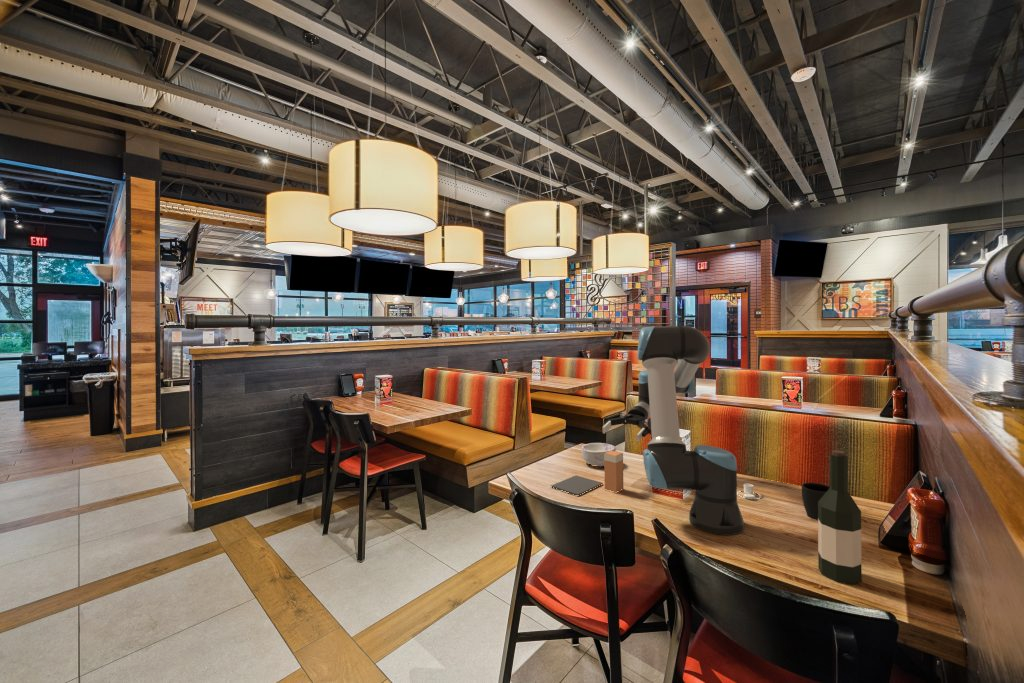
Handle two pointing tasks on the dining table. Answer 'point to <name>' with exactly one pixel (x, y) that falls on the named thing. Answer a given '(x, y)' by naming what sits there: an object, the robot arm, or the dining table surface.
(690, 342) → the robot arm
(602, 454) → the grey bowl
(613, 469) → the orange wooden block
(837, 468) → the wine bottle
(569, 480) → the mat
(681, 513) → the dining table surface
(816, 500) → the mug
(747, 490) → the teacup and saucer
